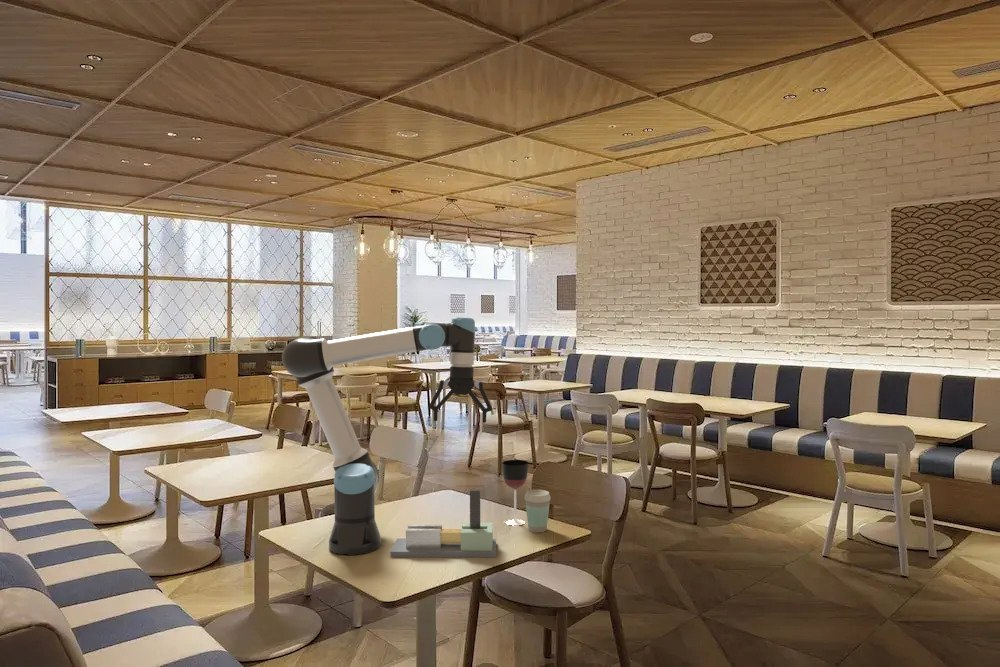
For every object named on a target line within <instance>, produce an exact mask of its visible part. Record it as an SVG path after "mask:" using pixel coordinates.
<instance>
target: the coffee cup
mask: <svg viewBox="0 0 1000 667" xmlns="http://www.w3.org/2000/svg"><path fill="white" fill-rule="evenodd" d="M523 499H524V502H525V510H526V522H527V527H528V528H527V529H528V531H529V532H530V533H534V532H542V533H544V531H545V532H546V531H547V530H548V521H549V513H550V512H549V510H550V503H551V495H550V492H549V491H548V490H545V489H530V490H527V491H526V492H525V494H524V498H523Z"/></svg>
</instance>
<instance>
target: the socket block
mask: <svg viewBox="0 0 1000 667" xmlns="http://www.w3.org/2000/svg"><path fill="white" fill-rule="evenodd" d="M493 524H494V523H493V522H480V529H470V522H462V525H461V528H460V529H461V551H492V546H493V539H494V525H493Z"/></svg>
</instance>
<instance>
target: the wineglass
mask: <svg viewBox="0 0 1000 667" xmlns="http://www.w3.org/2000/svg"><path fill="white" fill-rule="evenodd" d="M501 468H502V475H503V481H504V484H505V485H506V486H508V487H509V488H511V489H513V518H512V520H510V519H507V520H508V521H506V520H505V521H506V522H505V521H504V522H505V523H506V524H507V525H506V526H508V525H512V526H511V527H515V526H514V525H522V524H525V520H524V521H523V519H520V518H519V519H520V520H519V519H518V518H517V489H519V488H521V487H523V486H524V485H525V484H526V482H527V477H528V472H529V461H527V460H523V459H509V460H504V461H502V463H501ZM525 525H526V524H525Z"/></svg>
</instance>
